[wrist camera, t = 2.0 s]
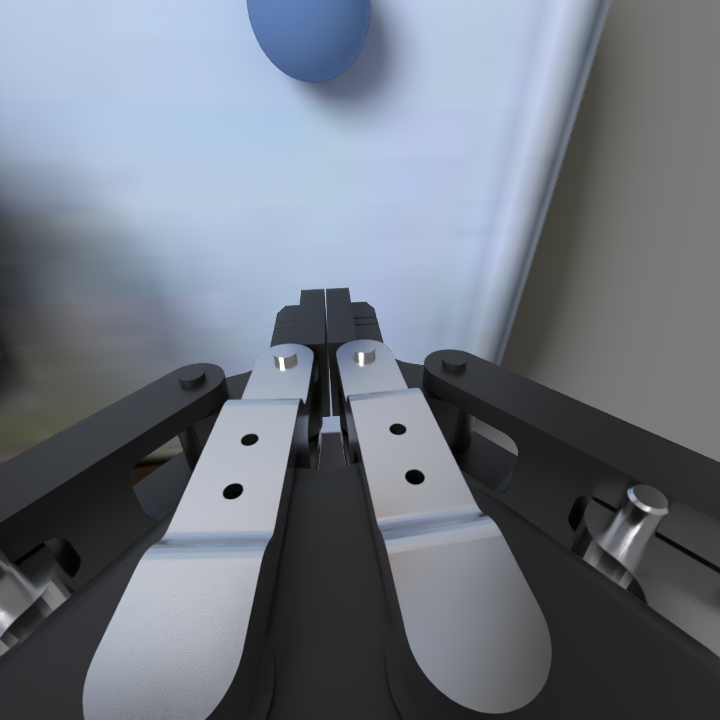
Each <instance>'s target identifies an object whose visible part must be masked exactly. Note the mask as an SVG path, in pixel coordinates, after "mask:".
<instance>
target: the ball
mask: <svg viewBox="0 0 720 720" xmlns="http://www.w3.org/2000/svg"><path fill="white" fill-rule="evenodd" d="M247 8H248V14H249V19H250V22H251V26H252V29H253V31H254V34H255V36H256V39H257V41H258V43H259V45H260V47H261V48H262V50H263V51H264V53H265V54H266V56H267V57H268V58H269V59H270V61H271V62H272V63H273V64H274V65H275V66H276V67H277V68H278V69H280V70H281V71H282V72H284V73H285V74H287V75H289V76H291V77H292V78H295V79H298V80H301V81H305V82H322V81H326V80H330V79H332V78H334V77H336V76H338V75H339V74H341V73H342V72H343V71H345V70H346V69H347V68H348V67H349V66H350V65H351V64H352V62H353V61H354V60H355V58H356V57H357V55H358V54H359V52H360V50H361V48H362V46H363V43H364V41H365V38H366V34H367V30H368V26H369V19H370V0H247Z"/></svg>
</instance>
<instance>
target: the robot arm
mask: <svg viewBox="0 0 720 720" xmlns="http://www.w3.org/2000/svg"><path fill="white" fill-rule="evenodd" d="M326 303H327V321H326V307H325V293H324V289H314V290H301V298H300V305H294V306H285V307H284V308H283V309H282V310H281V311H280V312H278V313H277V318H276V323H275V327H274V332H273V336H272V341H271V346H270V348H268V349H266V350H265V351H263V352H262V353H261V354H260V355H259V356H258V358H257V361H256V363H255V366H254V368H253V370H252V371H249V372H247V373H243V374H240V375H236V376H231V377H227V378H225V374H224V371H223V369H222V368H221V367H219V366H217V365H214V364H209V363H198V364H192V365H188V366H184V367H181V368H179V369H177V370H175V371H173V372H171V373H169V374H167V375H165V376H164V377H162V378H160V379H158V380H156V381H154V382H152V383H151V384H149V385H147V386H145V387H143V388H141V389H139V390H138V391H136V392H134V393H132V394H130V395H128V396H127V397H125V398H123V399H121V400H119V401H117V402H115V403H114V404H112V405H110V406H108V407H106V408H104V409H102V410H101V411H99V412H97V413H95V414H93V415H91V416H90V417H88V418H86V419H84V420H82V421H80V422H78V423H77V424H75V425H73V426H71V427H69V428H67V429H65V430H64V431H62V432H60V433H58V434H56V435H54V436H53V437H51V438H49V439H47V440H45V441H43V442H41V443H40V444H38V445H36V446H34V447H32V448H30V449H28V450H27V451H25V452H23V453H21V454H19V455H17V456H16V457H14V458H12V459H10V460H8V461H6V462H4V463H3V464H1V465H0V720H720V462H718V461H715V460H713V459H711V458H708V457H706V456H704V455H702V454H699V453H697V452H695V451H692V450H690V449H688V448H685V447H683V446H681V445H679V444H676V443H674V442H672V441H669V440H667V439H665V438H662V437H660V436H658V435H655V434H653V433H651V432H649V431H647V430H644V429H642V428H640V427H637V426H635V425H632V424H630V423H628V422H626V421H623V420H621V419H619V418H617V417H614V416H612V415H610V414H608V413H605V412H603V411H600V410H598V409H596V408H594V407H591V406H589V405H587V404H584V403H582V402H580V401H578V400H575V399H573V398H570V397H569V396H566V395H564V394H562V393H559V392H557V391H555V390H552V389H550V388H548V387H546V386H543V385H541V384H539V383H536V382H534V381H532V380H529V379H527V378H525V377H522V376H520V375H518V374H515V373H513V372H511V371H509V370H507V369H504V368H502V367H500V366H497V365H495V364H493V363H491V362H488V361H486V360H484V359H481V358H479V357H477V356H475V355H472V354H470V353H467V352H464V351H459V350H439V351H436V352H433V353H431V354H429V355H428V356H427V357H426V359H425V362H424V365H418V364H411V363H406V362H402V361H399V360H397V359H395V358H394V356H393V354H392V351H391V349H390V348H389V347H388V346H387V345H385V344H384V343H383V339H382V336H381V332H380V328H379V325H378V321H377V318H376V313H375V310H374V308H373V307H372V306H370V305H369V304H368V303H367V302H352V303H351V300H350V294H349V288H334V289H326ZM328 354H329V356H328ZM329 369H330V383H331V397H332V411H333V416H340V426H341V439H342V446H343V452H344V458H345V463H346V466H344V467H341V468H337V469H334V470H329V471H322V470H318V468H319V458H320V449H321V428H322V424H323V417H329V416H330V388H329ZM475 417H476V418H478V419H479V420H481V421H483V422H485V423H487V424H489V425H490V426H492V427H494V428H496V429H498V430H499V431H501V432H503V433H505V434H507V435H508V436H509V437H510V438H511V439H512V440H513V441H514V442H515V444H516V446H517V448H518V456H516V455H514V454H513V453H511V452H509V451H507V450H506V449H504V448H502V447H501V446H499V445H497V444H495V443H494V442H492V441H490V440H488V439H487V438H485V437H483V436H481V435H480V434H478V433H476V432H475V431H473V427H474V421H475ZM177 435H178V437H179V440H180V443H181V446H182V448H183V451H182V452H180V453H179V454H178V455H176V456H175V457H173V458H172V459H171V460H169V461H168V462H166V463H165V464H164V465H162V466H161V467H160V468H158V469H157V470H155V471H154V472H153V473H151V474H150V475H148V476H147V477H146V478H144V479H143V480H141V481H140V482H139V483H137V484H136V485H134V486H133V487H132V486H131V484H130V474H131V472H132V469H133V468H134V466H135V465H136V464H137V463H138V462H139V461H140V460H141V459H143V458H144V457H146V456H147V455H149V454H150V453H152V452H153V451H155V450H156V449H158V448H159V447H160V446H162V445H163V444H165V443H166V442H168V441H169V440H171V439H172V438H174V437H175V436H177Z"/></svg>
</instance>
